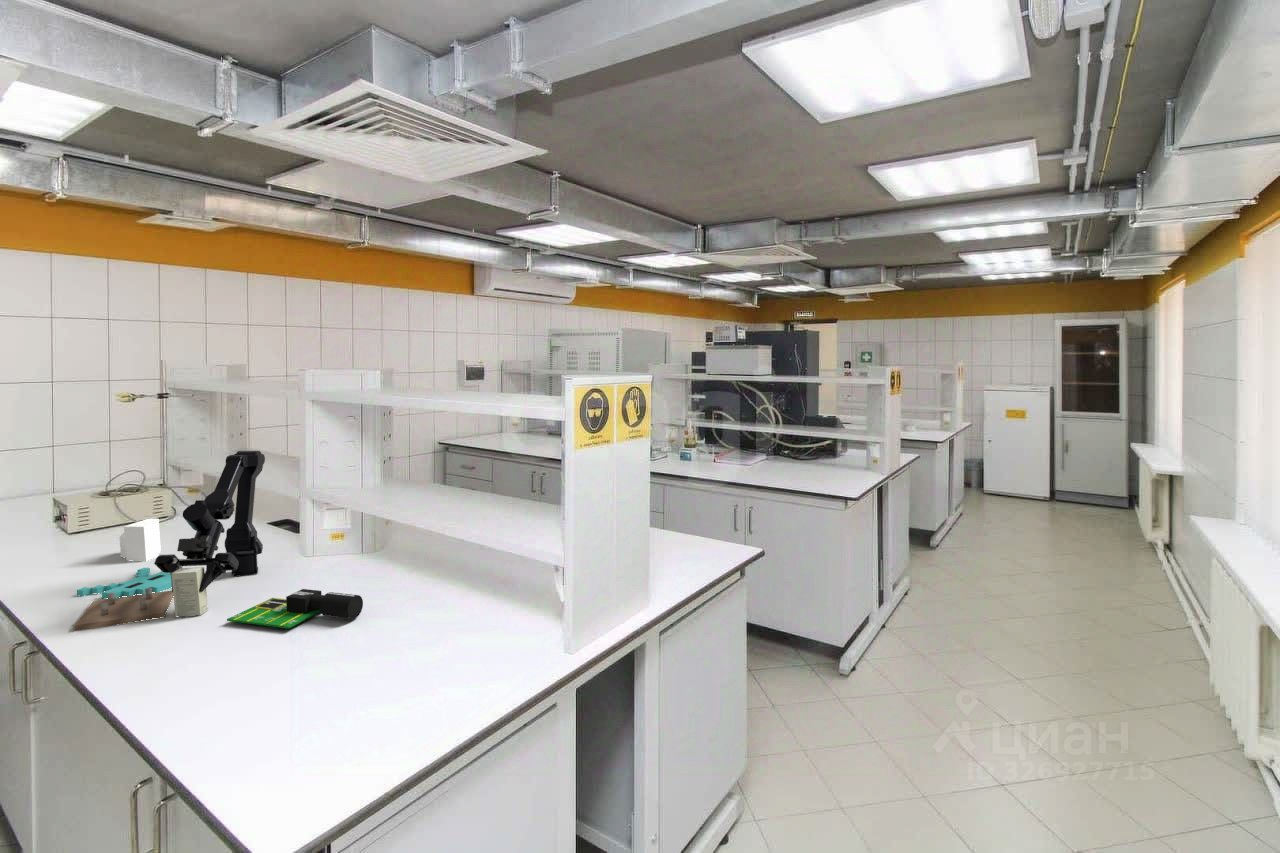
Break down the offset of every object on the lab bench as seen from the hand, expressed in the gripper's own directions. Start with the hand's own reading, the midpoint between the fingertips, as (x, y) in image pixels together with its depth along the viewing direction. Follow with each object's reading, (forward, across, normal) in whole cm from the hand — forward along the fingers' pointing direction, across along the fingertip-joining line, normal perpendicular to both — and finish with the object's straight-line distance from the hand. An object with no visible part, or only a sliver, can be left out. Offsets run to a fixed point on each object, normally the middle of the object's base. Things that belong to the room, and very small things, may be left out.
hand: (187, 591), depth 167 cm
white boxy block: (-35, -42, +45) cm, 71 cm away
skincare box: (+4, 0, +6) cm, 7 cm away
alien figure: (-13, -26, +23) cm, 37 cm away
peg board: (+1, -17, +8) cm, 19 cm away
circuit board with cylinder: (+9, +29, +1) cm, 31 cm away
